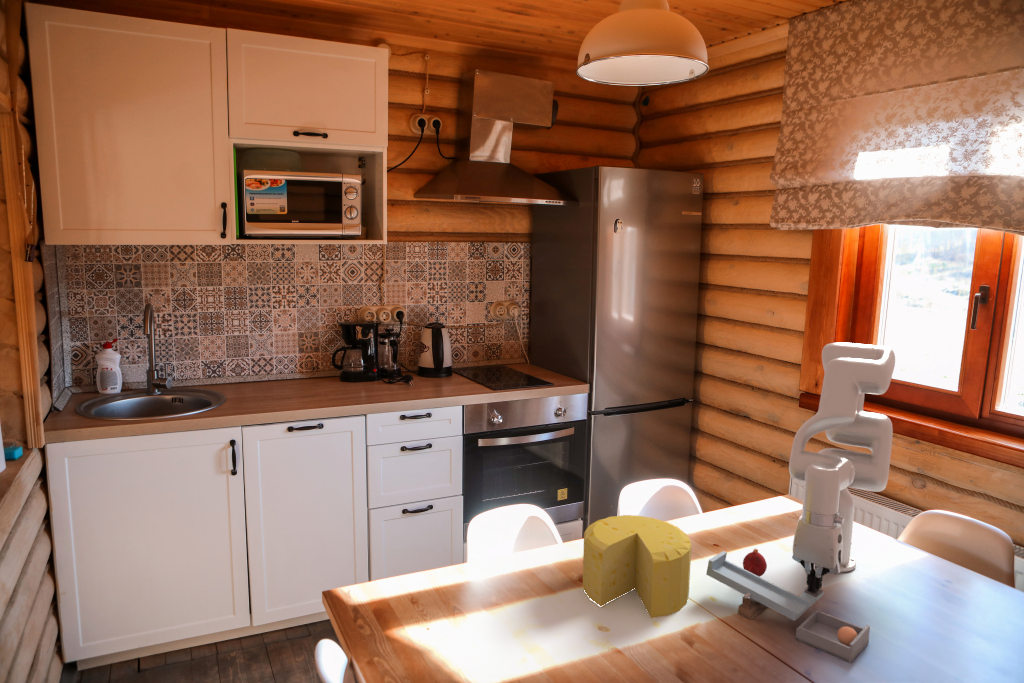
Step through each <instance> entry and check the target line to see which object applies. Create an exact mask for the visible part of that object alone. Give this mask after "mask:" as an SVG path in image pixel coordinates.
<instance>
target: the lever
mask: <svg viewBox="0 0 1024 683" xmlns="http://www.w3.org/2000/svg"><path fill="white" fill-rule="evenodd" d="M707 564H708V565H707V569H706V575H707V576H709V577H710V578H712V579H714V580H716V581H718V582H719V583H722V584H723V585H725V586H727V587H729V588H730V589H733V590H734V591H737V592H739V593H740V594H743V597H744V598H745V599H747V598H752V599H754V600H756V601H758V602H760V603H761V604H763V605H765V606H767V607H766V608H769V609H771V610H773V611H774V612H777V613H779V614H781V615H782V616H784V617H786V618H788V619H790V620H792V621H794V622H795V621H797V619H799V617H800V616H802V615H803V614H804V613H805V612H807V611H808V610H809V608H810V607H812V606H813V605H814V604H815V603H816V602H817V601H818V600H819V599H820V598H822V597H823V596H824V592H825V591H824V590H822V589H819V590H818V591H817V592H815V593H813V592H812V591H808V587H807V588H805V589H804V591H803V592H802V593H801V594H800V595H797V594H796V593H793V592H791V591H789V590H787V589H785V588H784V587H782V586H779V585H777V584H774V583H773V582H771V581H769V580H767V579H765V578H763V577H762V576H760V577H759V576H757V575H755V574H753V573H751V572H749V571H747V570H745V569H744V568H743V567H740V566H739V565H737V564H735V563H733V562H731V561H729V560H727V552H726V551H725V550H723V551H721V552H719V553H718V554H717V555H714V556H713V557H712V558H710V559H708V563H707Z"/></svg>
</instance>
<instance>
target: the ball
mask: <svg viewBox="0 0 1024 683" xmlns="http://www.w3.org/2000/svg"><path fill="white" fill-rule="evenodd" d="M837 636H838V639H839V641H840V642H841V643H842V644H844V645H846V646H849V647H850V643H851V642H852V641H853V640H854V639H855V638H856V637H857V633H856V631H855V630H854V629H852V628H851V627H842V628H840V629H839V631H838V634H837Z"/></svg>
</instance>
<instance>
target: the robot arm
mask: <svg viewBox="0 0 1024 683" xmlns="http://www.w3.org/2000/svg"><path fill="white" fill-rule="evenodd" d="M821 362H822V367H823V371H824V375H823V381H822V387H821V394H820V398H819V404H818V410H817V412H816V414H815V415H813V416H811V417H810V418H809V419H807V420H806V421H805V422H803V424H802V425H801V426H799V429H797V431H796V433H795V435H794V438H793V440H792V441H793V442H792V445H791V451H790V456H789V462H788V470H789V475H790V476H791V478H792V479H794V480H795V481H798V482H801V483H804V486H803V497H802V500H803V501H802V510H801V515H800V516H799V518H798V521H797V523H796V527H795V532H794V536H793V543H792V560H794V561H796V562H797V563H798V564H799V563H800V565H801V566H802V568H803V569H804V572H805V574H806V581H805V582H806V585H807V588H808V591H812V592H813V593H815V592H817V591H818V590H819V589H820V590H822V587H823V578H824V576H825V575H828V574H831V575H839V574H840V573H844V572H850V571H853V570H854V569H855V568H856V564H857V562H856V560H855V558H854V557H853V556H852V555H851V550H852V548H851V547H852V538H853V527H854V526H853V525H854V516H855V514H854V513H855V501H854V498H853V496H852V494H851V492H850V491H849V489H848V488H853V489H858V490H861V491H862V490H863V491H869V492H874V493H877V492H878V493H879V492H882V491H884V490H885V489H886V487H887V485H888V481H889V474H890V466H891V465H890V464H891V456H892V447H893V446H892V445H893V435H894V433H893V432H894V429H893V423H892V421H891V419H890V417H888V416H887V415H885V414H884V413H883V414H882V413H877V412H871V411H870V412H869V411H865V410H864V404H865V403H864V402H865V394H871V395H877V396H878V395H884V394H885V393H886V392H887V391H888V390H889V387H890V385H891V381H892V377H893V374H894V370H895V366H896V356H895V352H894V350H893V349H892V348H890V347H889V346H884V345H874V344H864V343H854V342H853V343H852V342H831V343H827V344H825V345H824V346H823V348H822V351H821ZM822 432H825V436H826V438H827V439H828V441H830V442H832V443H835V444H840V445H845V446H851V447H858V448H864V449H868V450H869V451H870V452H871V453H865V452H859V451H855V450H848V449H841V448H834V447H827V448H826V447H825V448H823V449H821V450H819V451H818V452H816V451H815V452H814V451H809V450H808V451H807V450H805V449H806V446H807V443H808V442H809V440H810V439H811V438H812V437H814V436H815V435H817V434H820V433H822Z"/></svg>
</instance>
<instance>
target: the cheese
mask: <svg viewBox="0 0 1024 683" xmlns="http://www.w3.org/2000/svg"><path fill="white" fill-rule="evenodd" d="M582 557H583V560H582V561H583V562H582V563H583V564H582V589H583V588H584V590H585V592H586V593H587V595H588V596H589V598H591V599H592V600H593V601H595V602H596V603H597V604H599V605H600V606H602V605H604V604H606V603H607V602H609V601H611V600H613V599H615V598H617V597H619V596H621V595H623V594H625V593H627V592H629V591H631V590H632V589H634V588H635V589H636V590H635V592H636V591H637V592H636V594H637V593H638V594H637V595H639V596H638V598H639V597H640V598H641V599H640V598H639V599H640V601H641V600H642V601H641V603H642V602H643V603H642V605H643V604H644V605H643V606H645V607H644V608H645V610H646V609H647V610H646V611H648V612H647V613H649V614H648V615H650V616H649V617H650V619H655V618H656V619H657V618H661V617H667V616H670V615H672V613H673V614H676V613H677V612H680V611H681V610H682V609H683V608H684V607H685V606H686V605H687V604H688V601H687V600H689V595H690V579H691V561H692V560H691V559H692V558H691V557H692V542H691V540H690V537H689V535H687V534H686V533H685V532H684V531H683V530H682V529H681V528H680V527H678V526H677V525H674V524H672V523H670V522H668V521H665V520H661V519H658V518H655V517H650V516H643V515H631V514H630V515H629V514H628V515H627V514H624V515H616V516H608V517H606V518H602V519H598V520H596V521H595V522H592V523H591V524H589V525H588V526H587V528H586V529H585V531H584V532H583V556H582ZM631 592H632V591H631ZM629 593H630V592H629ZM627 594H628V593H627ZM625 595H626V594H625ZM654 617H655V618H654Z"/></svg>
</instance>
